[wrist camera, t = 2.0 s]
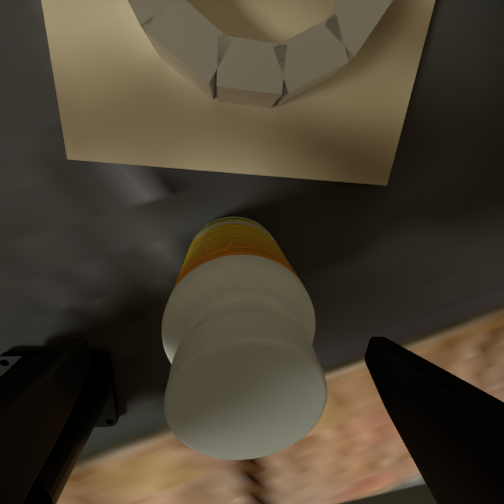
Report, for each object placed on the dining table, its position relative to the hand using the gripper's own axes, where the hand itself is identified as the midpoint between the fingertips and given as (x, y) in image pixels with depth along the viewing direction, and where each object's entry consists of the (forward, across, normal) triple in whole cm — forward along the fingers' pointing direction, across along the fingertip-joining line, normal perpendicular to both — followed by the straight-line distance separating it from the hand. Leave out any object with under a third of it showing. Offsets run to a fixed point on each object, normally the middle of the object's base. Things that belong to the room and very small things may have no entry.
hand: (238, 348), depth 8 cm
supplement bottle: (+8, 0, 0) cm, 8 cm away
